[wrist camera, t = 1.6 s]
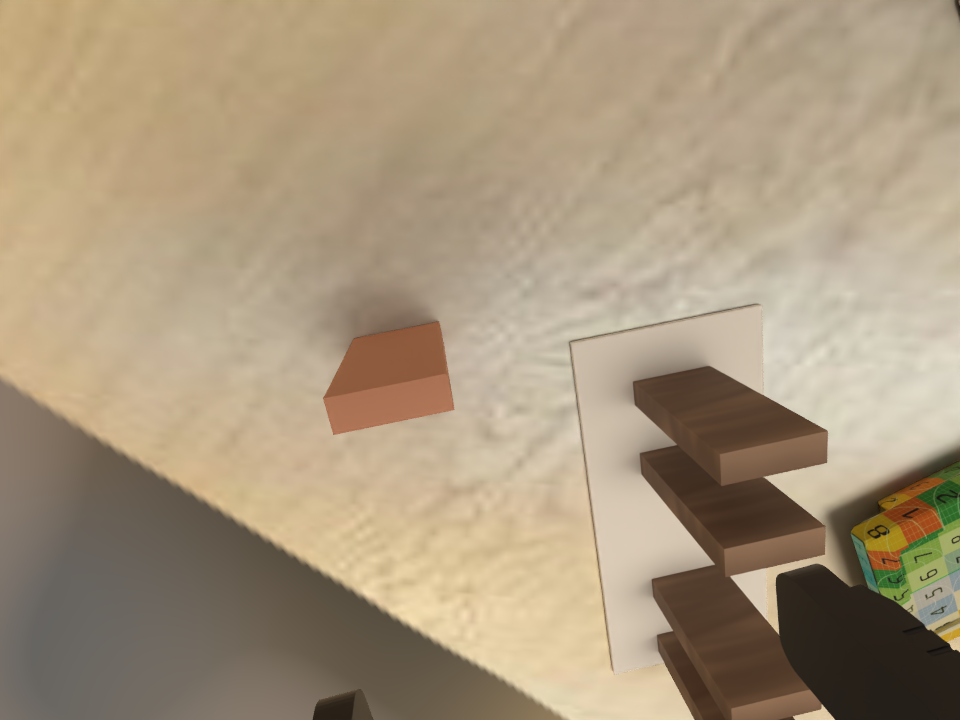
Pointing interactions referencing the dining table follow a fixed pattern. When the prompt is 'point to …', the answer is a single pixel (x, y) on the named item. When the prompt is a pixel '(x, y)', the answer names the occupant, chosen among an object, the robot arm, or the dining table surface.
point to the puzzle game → (917, 550)
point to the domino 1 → (390, 379)
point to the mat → (617, 470)
